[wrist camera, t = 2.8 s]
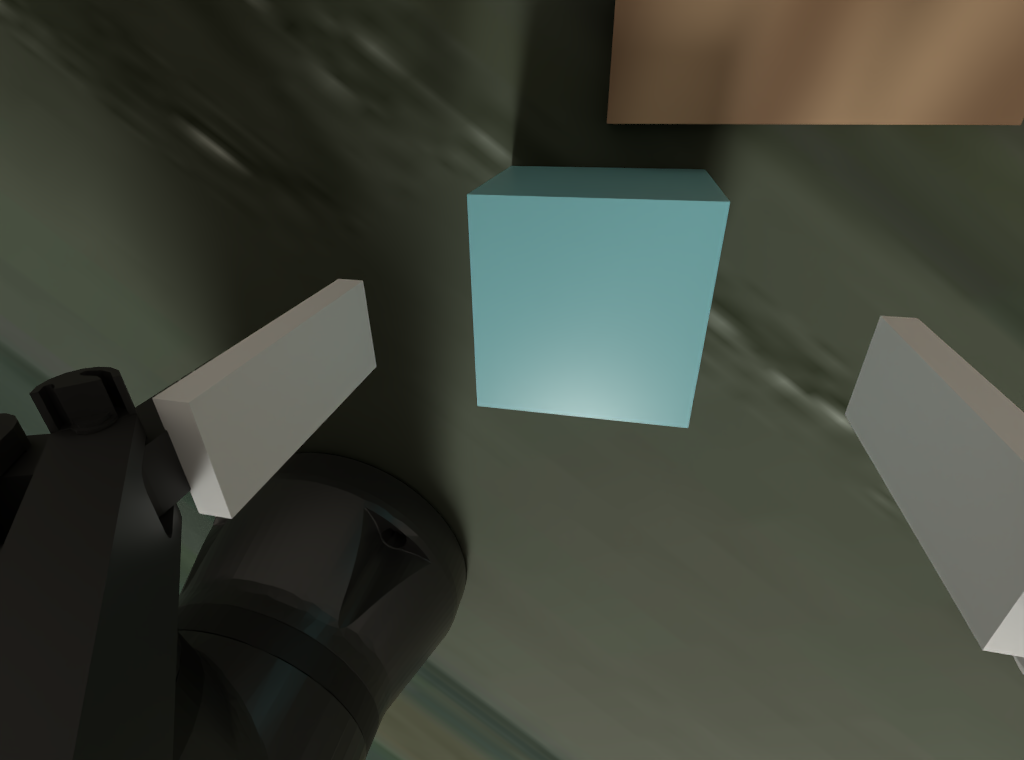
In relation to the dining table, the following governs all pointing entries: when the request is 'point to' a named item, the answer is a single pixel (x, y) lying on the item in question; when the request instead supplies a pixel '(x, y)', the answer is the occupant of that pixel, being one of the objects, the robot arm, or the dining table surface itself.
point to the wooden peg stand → (817, 62)
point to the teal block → (593, 289)
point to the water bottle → (1020, 663)
